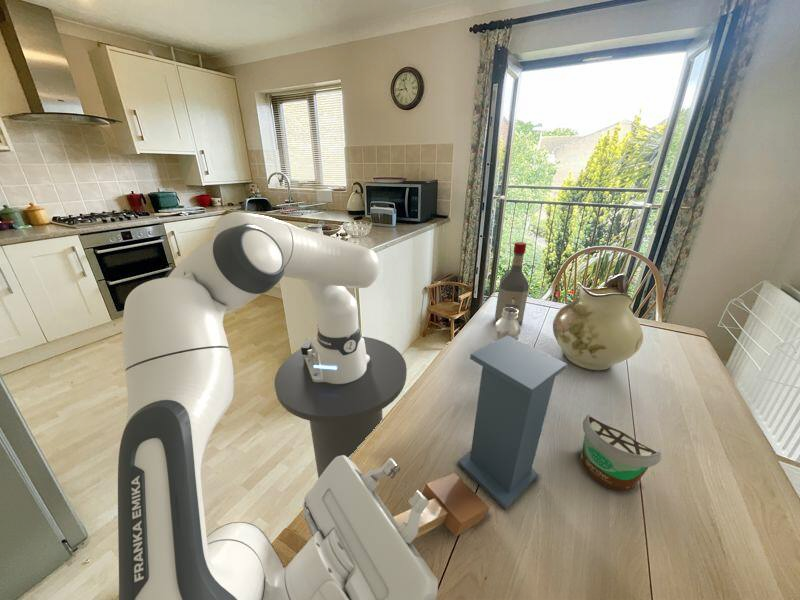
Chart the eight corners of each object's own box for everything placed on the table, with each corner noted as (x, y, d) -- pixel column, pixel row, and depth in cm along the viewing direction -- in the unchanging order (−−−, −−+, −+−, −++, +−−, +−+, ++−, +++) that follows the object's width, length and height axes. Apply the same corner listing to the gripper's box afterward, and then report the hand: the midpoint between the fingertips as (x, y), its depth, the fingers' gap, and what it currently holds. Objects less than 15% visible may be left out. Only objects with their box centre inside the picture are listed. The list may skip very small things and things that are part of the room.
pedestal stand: (457, 464, 61) (470, 353, 51) (489, 439, 67) (507, 335, 56) (505, 509, 53) (532, 389, 43) (537, 477, 59) (567, 363, 48)
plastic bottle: (509, 384, 83) (521, 318, 75) (484, 375, 87) (493, 311, 78) (515, 371, 88) (527, 308, 80) (491, 364, 92) (500, 302, 83)
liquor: (522, 330, 110) (537, 247, 98) (495, 327, 112) (507, 245, 100) (519, 318, 118) (533, 241, 106) (494, 315, 120) (505, 239, 108)
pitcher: (558, 376, 86) (579, 294, 76) (538, 334, 108) (553, 265, 97) (647, 386, 83) (682, 301, 73) (609, 340, 104) (632, 269, 94)
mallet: (364, 519, 45) (370, 505, 45) (449, 483, 58) (454, 472, 58) (398, 572, 39) (404, 556, 39) (483, 519, 53) (489, 506, 52)
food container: (562, 463, 61) (573, 425, 57) (575, 446, 65) (587, 410, 61) (634, 512, 53) (654, 472, 49) (645, 490, 56) (665, 451, 52)
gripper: (310, 509, 47) (376, 436, 50) (390, 672, 32) (474, 551, 36) (284, 498, 43) (357, 420, 46) (361, 678, 28) (459, 542, 32)
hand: (409, 478), depth 41 cm, fingers open, 4 cm apart
